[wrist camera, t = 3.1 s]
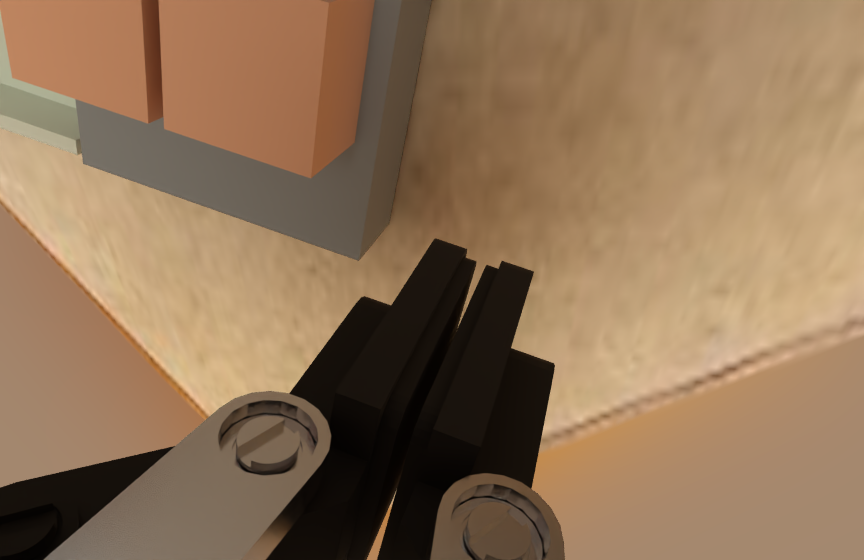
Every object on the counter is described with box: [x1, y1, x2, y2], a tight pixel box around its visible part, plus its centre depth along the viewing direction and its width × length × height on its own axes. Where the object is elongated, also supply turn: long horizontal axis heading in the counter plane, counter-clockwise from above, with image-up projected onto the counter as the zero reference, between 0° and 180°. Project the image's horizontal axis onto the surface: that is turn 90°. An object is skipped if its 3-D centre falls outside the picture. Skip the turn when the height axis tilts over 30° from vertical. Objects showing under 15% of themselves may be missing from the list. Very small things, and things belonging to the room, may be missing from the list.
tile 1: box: [0, 0, 164, 124], centre depth 18 cm, size 4×4×3 cm
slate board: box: [75, 0, 432, 261], centre depth 20 cm, size 11×13×3 cm
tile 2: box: [159, 0, 375, 178], centre depth 17 cm, size 4×4×3 cm
